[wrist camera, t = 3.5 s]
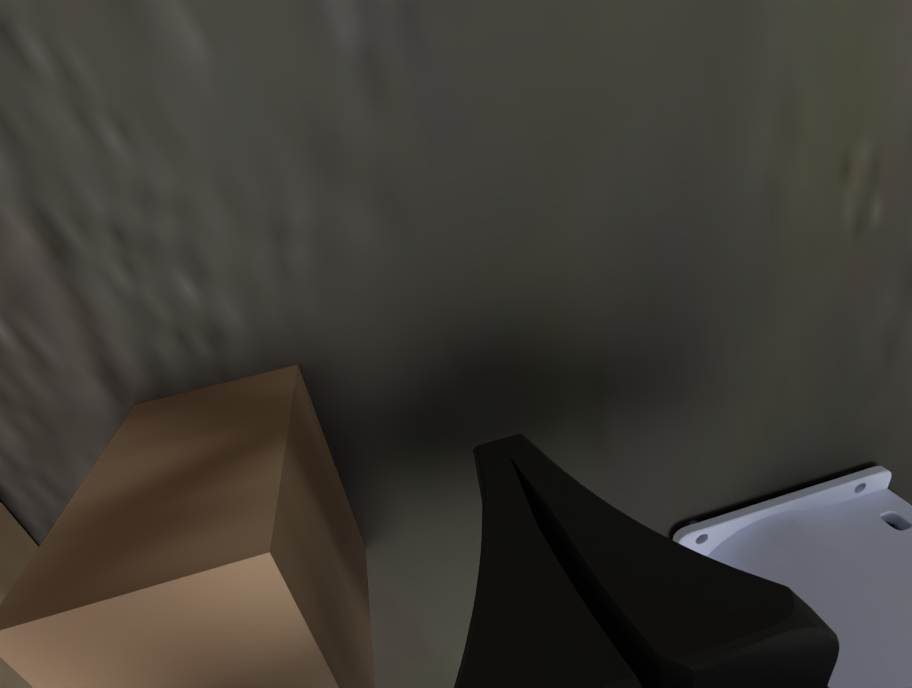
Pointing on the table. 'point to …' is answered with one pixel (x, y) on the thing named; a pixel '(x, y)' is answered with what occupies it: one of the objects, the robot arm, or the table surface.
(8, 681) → the maple board
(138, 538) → the walnut block
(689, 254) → the table surface
